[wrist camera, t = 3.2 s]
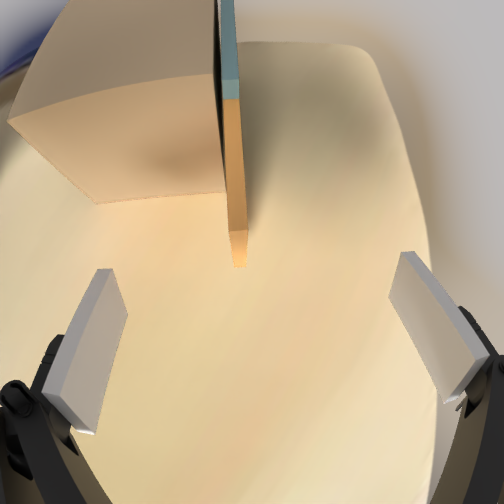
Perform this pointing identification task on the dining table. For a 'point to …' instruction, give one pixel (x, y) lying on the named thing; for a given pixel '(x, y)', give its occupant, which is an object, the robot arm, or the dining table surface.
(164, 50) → the kraft box
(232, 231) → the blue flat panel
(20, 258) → the dining table surface
